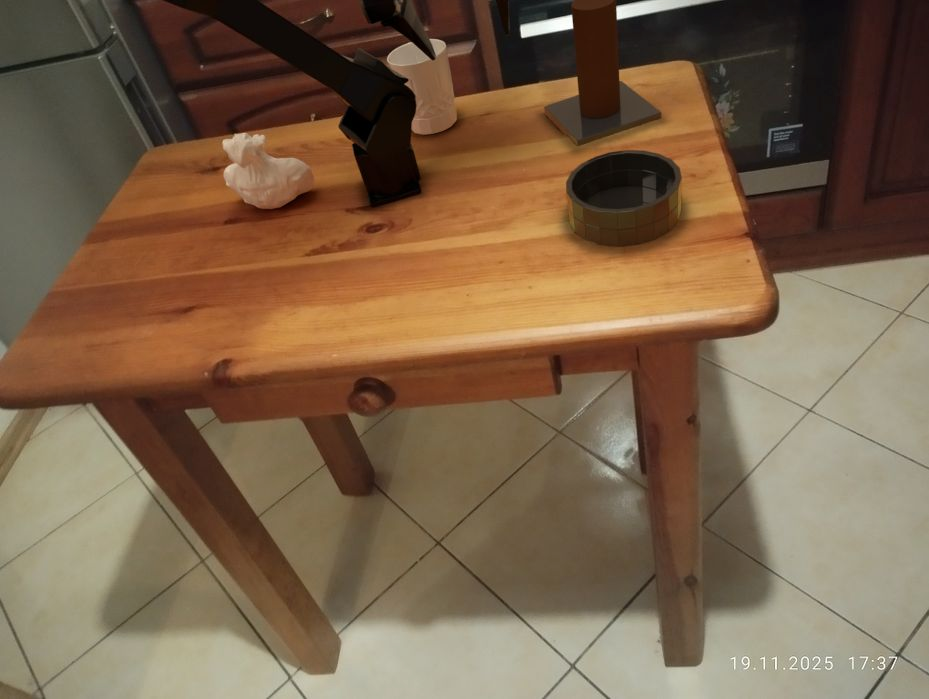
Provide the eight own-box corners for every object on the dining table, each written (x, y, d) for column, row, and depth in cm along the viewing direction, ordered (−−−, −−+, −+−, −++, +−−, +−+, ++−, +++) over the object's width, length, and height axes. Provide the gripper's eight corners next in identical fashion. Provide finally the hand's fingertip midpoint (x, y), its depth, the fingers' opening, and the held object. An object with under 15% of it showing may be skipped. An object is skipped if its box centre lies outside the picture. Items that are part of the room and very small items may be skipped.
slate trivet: (577, 149, 82) (577, 140, 81) (544, 114, 90) (543, 106, 89) (661, 121, 83) (661, 112, 82) (621, 89, 91) (621, 80, 90)
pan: (591, 262, 66) (588, 224, 63) (556, 205, 75) (551, 169, 71) (699, 229, 67) (701, 190, 64) (652, 176, 75) (652, 139, 72)
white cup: (398, 123, 97) (378, 53, 90) (448, 103, 98) (432, 33, 91) (418, 143, 91) (399, 71, 84) (470, 122, 92) (455, 49, 86)
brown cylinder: (609, 120, 83) (603, 10, 74) (573, 116, 85) (563, 9, 76) (627, 100, 85) (624, -9, 76) (591, 97, 88) (584, -9, 79)
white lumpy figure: (243, 219, 91) (187, 191, 80) (246, 164, 92) (191, 129, 81) (324, 213, 88) (278, 183, 77) (326, 157, 88) (281, 119, 78)
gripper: (506, -160, 70) (546, -12, 81) (348, -92, 76) (405, 37, 87) (504, -122, 63) (548, 33, 75) (330, -51, 69) (395, 84, 80)
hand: (470, 46), depth 79 cm, fingers open, 9 cm apart
